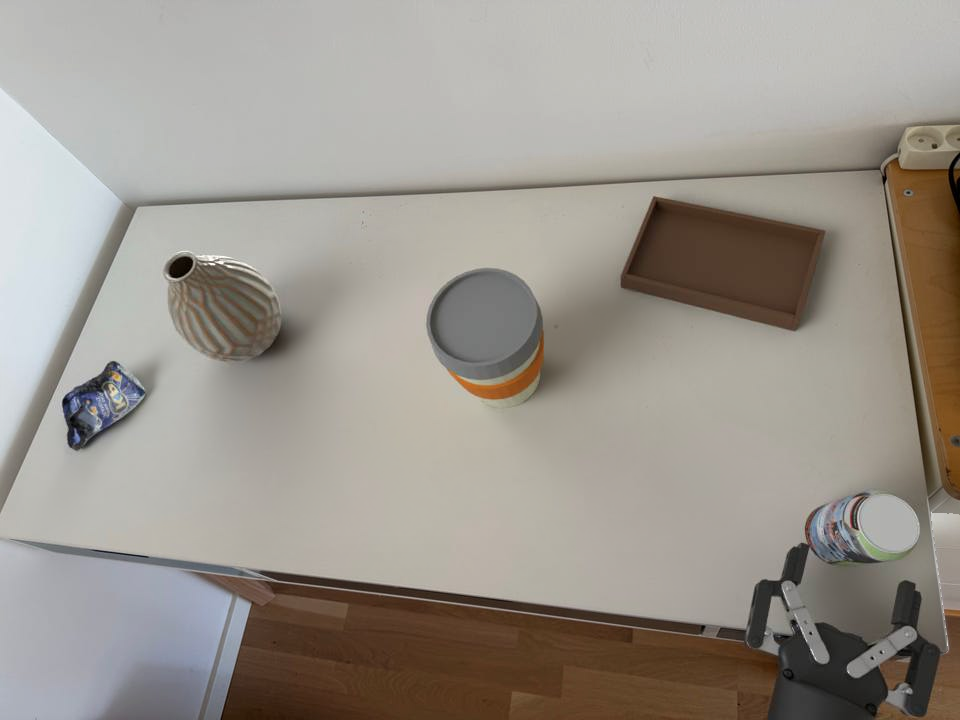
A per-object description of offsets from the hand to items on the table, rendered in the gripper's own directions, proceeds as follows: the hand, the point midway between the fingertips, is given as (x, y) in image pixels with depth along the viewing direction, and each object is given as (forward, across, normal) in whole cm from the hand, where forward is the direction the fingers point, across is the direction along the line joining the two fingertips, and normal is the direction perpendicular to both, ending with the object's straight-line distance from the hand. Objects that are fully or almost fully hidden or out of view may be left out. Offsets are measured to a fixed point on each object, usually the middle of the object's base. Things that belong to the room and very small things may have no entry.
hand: (853, 563), depth 58 cm
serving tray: (+32, +20, +7) cm, 39 cm away
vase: (+4, +77, +7) cm, 77 cm away
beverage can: (+3, 0, +7) cm, 8 cm away
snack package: (-14, +92, +7) cm, 93 cm away
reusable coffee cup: (+10, +40, +7) cm, 42 cm away
